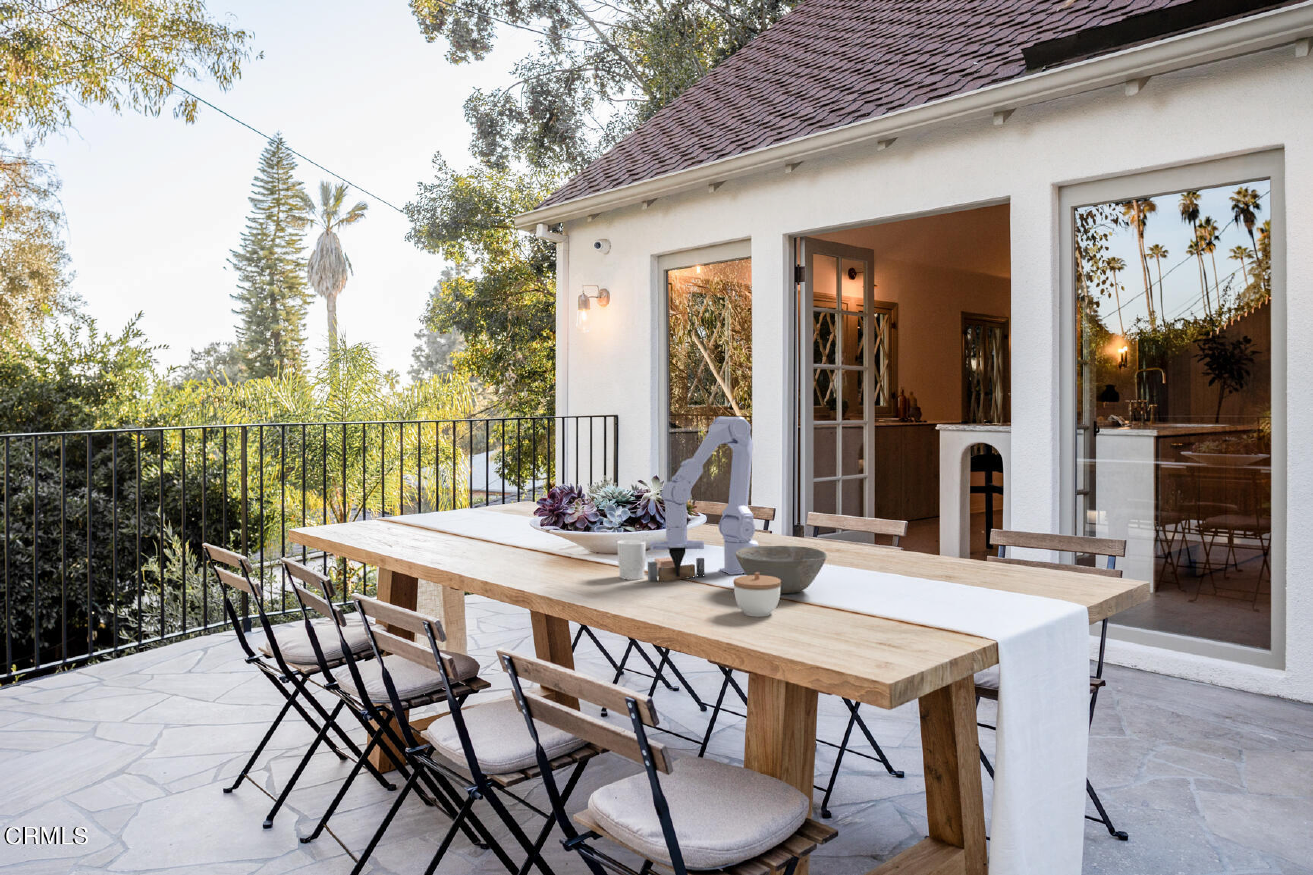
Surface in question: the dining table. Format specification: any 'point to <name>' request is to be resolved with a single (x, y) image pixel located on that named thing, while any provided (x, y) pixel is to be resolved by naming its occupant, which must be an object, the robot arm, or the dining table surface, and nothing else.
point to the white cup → (631, 559)
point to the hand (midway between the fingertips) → (677, 575)
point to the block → (664, 562)
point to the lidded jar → (757, 594)
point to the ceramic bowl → (783, 564)
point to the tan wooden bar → (670, 572)
